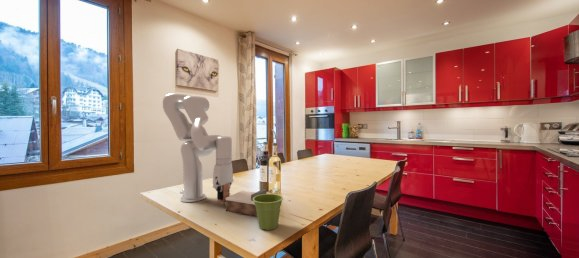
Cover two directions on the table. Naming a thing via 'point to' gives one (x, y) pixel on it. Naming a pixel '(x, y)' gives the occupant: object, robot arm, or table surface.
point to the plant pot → (268, 210)
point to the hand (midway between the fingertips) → (223, 197)
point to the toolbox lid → (245, 196)
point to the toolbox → (241, 208)
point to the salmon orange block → (224, 193)
